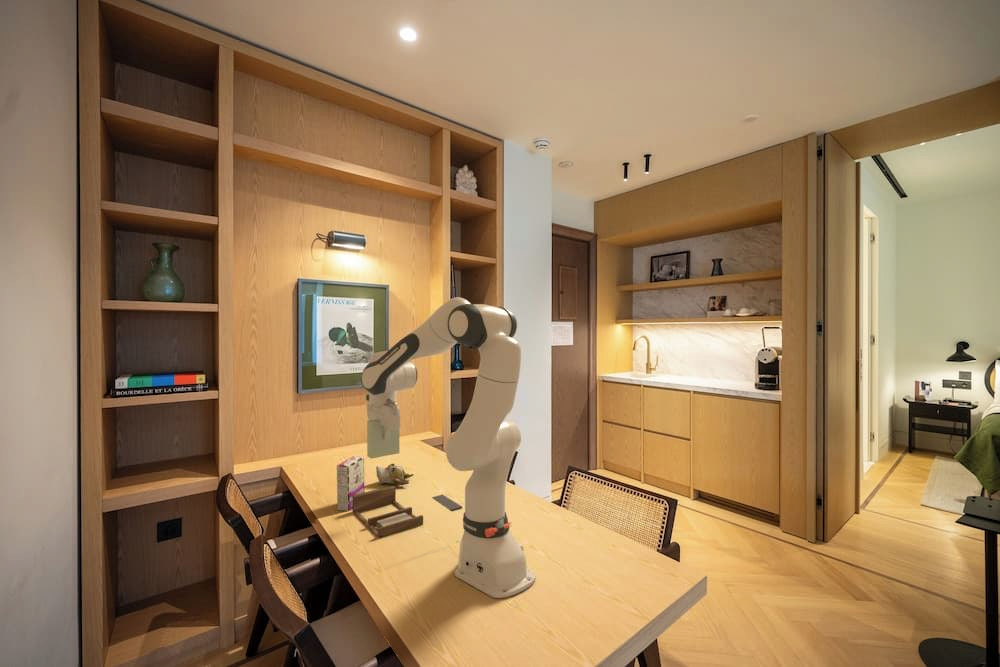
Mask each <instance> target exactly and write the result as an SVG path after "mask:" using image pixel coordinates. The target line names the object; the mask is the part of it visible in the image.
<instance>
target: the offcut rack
mask: <svg viewBox="0 0 1000 667" xmlns="http://www.w3.org/2000/svg"><path fill="white" fill-rule="evenodd" d="M396 490H397V488H396V486H395V485H391V486H386V487H383V488H378V489H373V490H369V491H364V493H360V494H356V495H353V509H352V513H353V514H354V515H355V516H356V517H357V518H358V519H359V520H360V521H361V522H362V523H363V524H364V525H365V526H366V527H367V528H368V529H369V530H370V531H371V532H372V533H373V534H374V535H375V536H376V537H377V538H378V539H381V538H384V537H387V536H390V535H391V536H392V535H393V534H396V533H400V532H403V531H407V530H410V529H413V528H416V527H419V526H423V525H424V515H423V514H420V515H417V516H416V515H415V514H413V507H412V506H409V507H406V508H405V507H404V506H403V505H402V504H400V503H399V502H397V500H396V497H397V495H396V492H397V491H396ZM390 505H394V506H395V507H396V508H398V510H394V511H391V512H387V513H383V514H379V515H376V516H372V517H369V518H365V516H363V515H362V514H361V512H362V513H363V512H365V511H366V512H367V511H370V510H373V509H377V508H382V507H385V506H390ZM402 513H406V514H408V515H409V516H411V517H412V518H410V519H407V520H403V521H400V522H396V523H393V524H390V525H386V526H383V527H379V528H377V521H379V520H382V519H386V518H389V517H392V516H395V515H399V514H402Z"/></svg>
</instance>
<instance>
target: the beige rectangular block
mask: <svg viewBox="0 0 1000 667" xmlns="http://www.w3.org/2000/svg"><path fill="white" fill-rule="evenodd" d="M366 421H367V423H366V426H367V427H366V430H367V432H366V433H367V434H366V437H367V439H366V444H367V445H366V446H367V447H366V448H367V449H366V457H368V458H369V459H377V458H382V457H387V456H392V455H397V454H400V428H399V429H395V430H391V433H390V439H389V440H384V439H383V434H384V432H385V430H384V427H383V426H381V424H380V421H379V420H377V419H375V420H369V419H368V420H366Z"/></svg>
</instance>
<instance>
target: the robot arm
mask: <svg viewBox="0 0 1000 667" xmlns="http://www.w3.org/2000/svg"><path fill="white" fill-rule="evenodd" d="M517 328H518V323H517V318H516V316H515V314H514V313H513V312H512V311H511V310H509V309H507V308H505V307H502V306H494V305H489V304H484V303H483V304H482V303H479V304H478V303H475V304H472V303H471V302H469V301H468V300H467V299H466V298H463V297H460V296H459V297H457V296H456V297H452V298H450V299H449V300H447V301H446V302H445V303H443V304H442V305H441V306H439V307H438V309H436V310H435V311H434V312H433V313H432V314H431V315H430V316H429V317H428V318H427V319H426V320H425V321H424V322H423V323H422V324H421V325H419V326H418V327H417V328H416V329H415V330H413V331H411V332H410V333H408V334H407V335H406V336H404V337H403V338H401V339H400V340H399V341H397V343H395V344H393V345H392V346H391V347H390V349H383V350H377V351H374V352H372V354H371V358H370V362H369V363H368V364H367V365H366V366H365V367H364V369H363V370H362V372H361V376H360V381H361V384H362V387H363V388H364V390H366V392H368V393H366V394H365V400H366V414H367V419H368V420H375V419H377V420H379V421H380V424H381V426H383V427H384V430H385V432H384V434H383V439H384V440H389V439H390V433H391V430H395V429H399V430H400V428H401V412H400V407H399V406H398V405H397V402H398V395H397V394H398V391H404V390H410V389H412V388H414V387H415V385H416V383H417V381H418V375H419V374H418V370H417V367H416V366H415V364H414V363H413V362H412V361H414V360H415V359H419V358H420V359H421V358H423V357H430V356H436V355H441V354H443V353H445V352H447V351H448V350H451V349H452V348H453V347H454V346H455V345H456V344H457V343H459V344H461V345H463V346H465V347H466V348H467V349H468V350H470V351H475V350H478V352H479V355H480V359H479V366H478V371H477V376H476V381H475V388H474V390H473V396H472V399H471V402H470V404H469V407H468V409H467V411H466V412H465V416H464V418H463V419H462V421H461V423H460V425H459V426H458V428H457V429H456V430H455V431H454V432H453V434H452V435H451V436H450V437H448V439H447V441H446V445H445V455H446V459H447V462H448V463H449V464H450V466H451V467H452V468H454V470H456V471H459V472H468V471H472V473H471V475H470V477H469V478H468V480H467V481H466V483H465V487H464V513H463V517H462V526H463V527H462V528H463V534H462V538H461V539H460V542H459V553H458V565H457V567H456V569H455V570H454V576H455V577H456V578H458V579H460V580H461V581H464V582H465V583H467V584H469V585H470V586H472V587H473V588H476V589H477V590H479V591H481V592H483V593H485V594H486V595H488V596H490V597H491V598H493V599H502V598H507V597H510V596H513V595H516V594H519V593H521V592H523V591H525V590H526V589H528V588H530V587H531V586H532V585H533V584H534V583H535V582H536V580H537V577H536V574H535V573H534V571H533V570H532V569H530V568H529V566H528V565H527V559H526V554H525V553H524V547H523V543H518V541H517V539H515V537H514V535H513V533H511V530H510V527H512V525H511V524H512V522H511V521H510V522H509V520H508V515H507V512H506V487H507V480H508V475H509V472H510V468H511V464H512V461H513V458H514V456H515V454H516V452H517V450H518V449H519V447H520V445H521V442H522V433H521V431H520V429H519V427H518V425H517V424H516V423H515V422H513V421H511V420H509V419H508V420H507V419H506V417H507V416H508V415H509V414H510V413H511V411H512V409H513V408H514V404H515V398H516V395H517V394H516V393H517V390H518V383H519V378H520V373H521V365H522V364H521V362H522V349H521V345H520V343H519V342H518V340H516V339H514V338H513V337H514V336H515V334H516V333H517V330H518V329H517Z"/></svg>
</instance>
